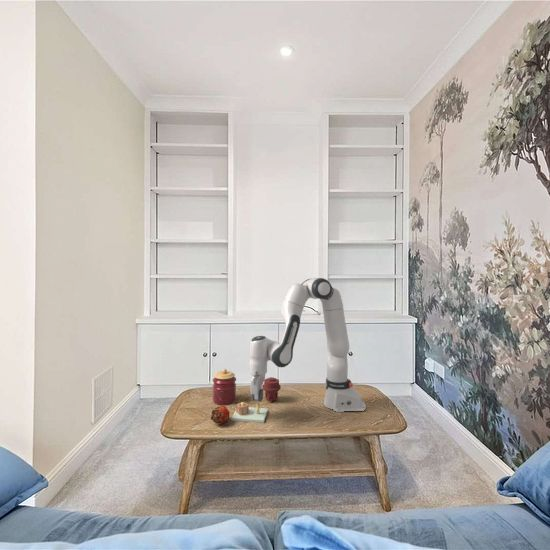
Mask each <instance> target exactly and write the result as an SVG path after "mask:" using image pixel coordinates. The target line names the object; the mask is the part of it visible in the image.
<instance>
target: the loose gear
mask: <svg viewBox="0 0 550 550" xmlns="http://www.w3.org/2000/svg"><path fill="white" fill-rule="evenodd" d="M258 395H259V396H258V399H254V394H251V401H252V402H257V403H259V402H260V403H261V402H262V401H263V399H264V390H263V388H261V389H260V390H259V393H258Z"/></svg>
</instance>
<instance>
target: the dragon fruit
mask: <svg viewBox="0 0 550 550" xmlns="http://www.w3.org/2000/svg"><path fill="white" fill-rule="evenodd" d="M229 417H230V411H229V409H228V408H227V406H225V405H219V406H216V407H215V408H214V410H212V411H211V417H210V420H212V421H213V423H215V424H218V425H221V424H223V423H227V422H228V419H229Z"/></svg>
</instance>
